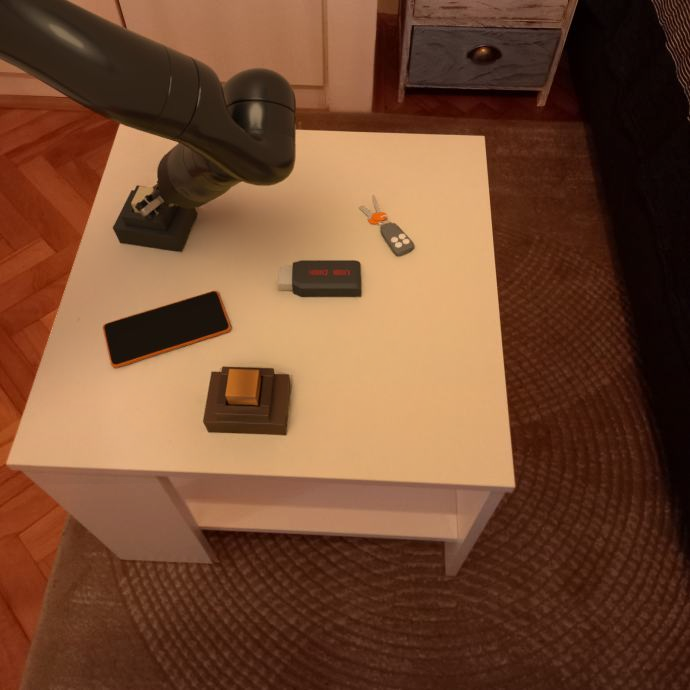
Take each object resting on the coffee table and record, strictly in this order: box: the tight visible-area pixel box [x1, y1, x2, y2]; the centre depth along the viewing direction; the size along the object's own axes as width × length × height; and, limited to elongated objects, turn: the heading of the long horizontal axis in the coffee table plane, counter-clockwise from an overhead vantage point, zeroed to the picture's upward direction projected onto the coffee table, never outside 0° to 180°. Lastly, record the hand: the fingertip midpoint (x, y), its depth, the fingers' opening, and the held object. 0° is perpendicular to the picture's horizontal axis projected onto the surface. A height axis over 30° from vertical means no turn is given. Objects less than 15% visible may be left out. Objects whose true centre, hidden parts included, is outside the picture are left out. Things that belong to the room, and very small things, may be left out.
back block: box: [112, 185, 198, 253], centre depth 89 cm, size 10×8×6 cm
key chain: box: [358, 194, 415, 257], centre depth 91 cm, size 13×4×2 cm, turn 29°
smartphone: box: [102, 290, 232, 369], centre depth 81 cm, size 8×17×1 cm, turn 112°
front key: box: [225, 369, 261, 405], centre depth 70 cm, size 4×4×2 cm
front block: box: [202, 365, 292, 436], centre depth 73 cm, size 10×7×6 cm
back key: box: [131, 185, 160, 216], centre depth 86 cm, size 4×4×3 cm
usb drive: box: [278, 259, 362, 298], centre depth 85 cm, size 5×12×3 cm, turn 90°
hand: (155, 200), depth 84 cm, fingers closed
